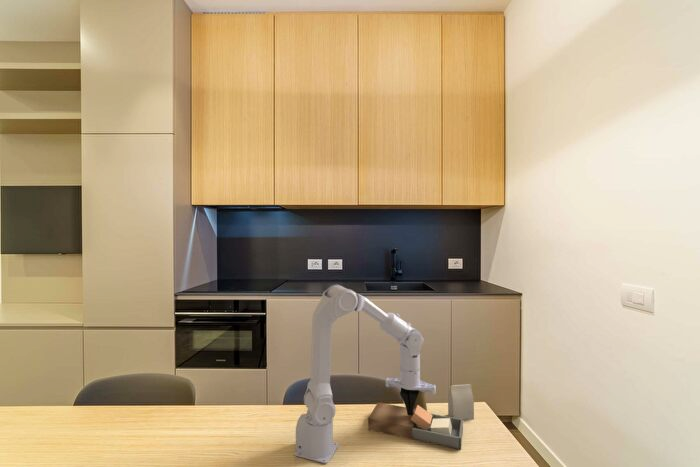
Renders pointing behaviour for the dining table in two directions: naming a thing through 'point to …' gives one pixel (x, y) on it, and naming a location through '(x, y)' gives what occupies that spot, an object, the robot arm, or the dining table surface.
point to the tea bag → (461, 402)
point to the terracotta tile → (421, 417)
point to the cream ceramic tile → (441, 426)
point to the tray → (438, 438)
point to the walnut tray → (391, 420)
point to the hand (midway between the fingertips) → (410, 413)
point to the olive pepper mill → (421, 399)
